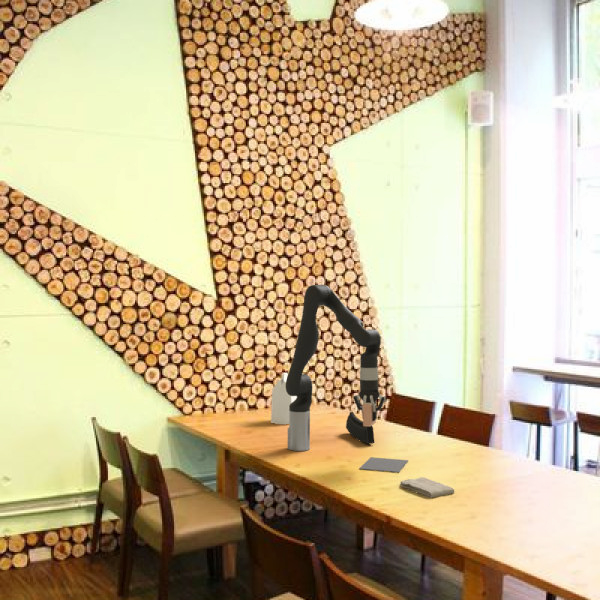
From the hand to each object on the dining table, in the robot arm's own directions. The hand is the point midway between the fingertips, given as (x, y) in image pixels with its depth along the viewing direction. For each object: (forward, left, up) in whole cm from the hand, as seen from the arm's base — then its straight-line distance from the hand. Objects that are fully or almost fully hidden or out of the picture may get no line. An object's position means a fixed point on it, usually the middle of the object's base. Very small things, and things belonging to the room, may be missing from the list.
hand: (369, 420), depth 300 cm
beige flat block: (0, 0, -2) cm, 2 cm away
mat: (+6, +1, -18) cm, 19 cm away
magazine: (-16, +46, -18) cm, 52 cm away
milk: (-64, +75, -18) cm, 100 cm away
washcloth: (+28, -29, -19) cm, 45 cm away
